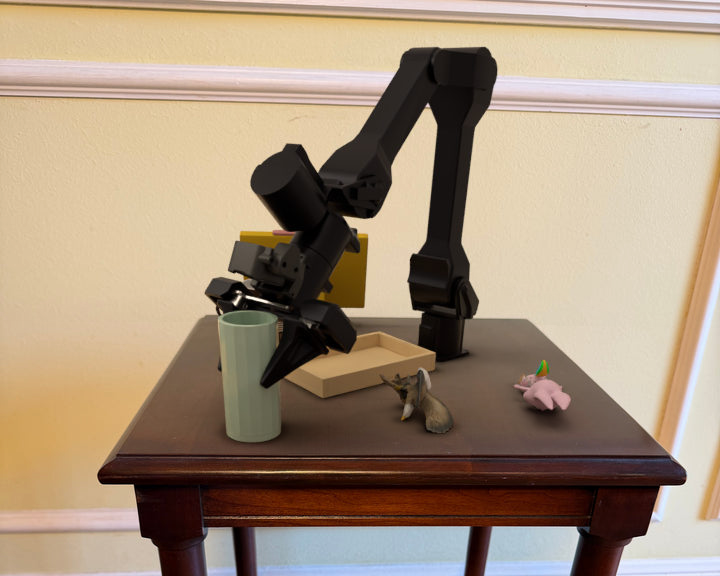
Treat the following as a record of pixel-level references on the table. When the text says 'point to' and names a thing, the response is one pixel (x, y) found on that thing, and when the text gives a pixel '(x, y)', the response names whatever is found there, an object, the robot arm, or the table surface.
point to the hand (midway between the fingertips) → (241, 379)
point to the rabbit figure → (542, 390)
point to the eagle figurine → (422, 401)
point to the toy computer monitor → (344, 277)
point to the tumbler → (249, 375)
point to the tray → (362, 365)
